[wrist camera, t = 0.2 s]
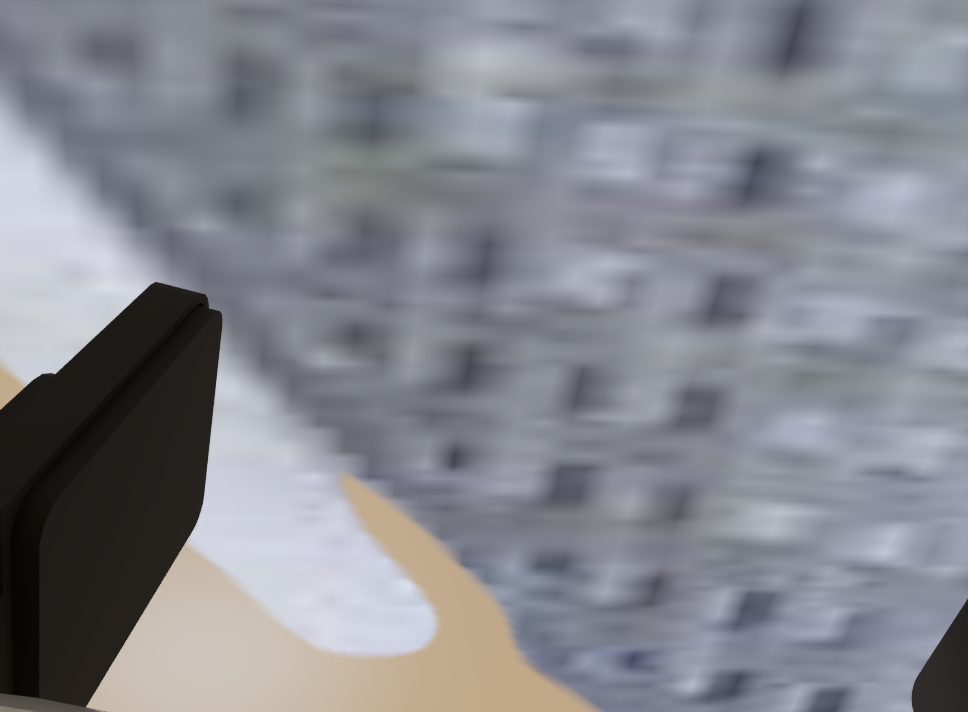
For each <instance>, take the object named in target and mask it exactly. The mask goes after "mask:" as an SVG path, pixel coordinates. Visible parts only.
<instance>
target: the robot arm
mask: <svg viewBox="0 0 968 712" xmlns="http://www.w3.org/2000/svg"><path fill="white" fill-rule="evenodd" d="M221 332H222V314H221V312H220V311H217V310H213V309H209V303H208V298H207V296H206V295H205V294H201V293H197V292H194V291H190V290H186V289H182V288H178V287H174V286H170V285H166V284H162V283H158V282H155V283H153V284H151V285H150V286H149V287H148V288H147V289H146V290H145V291H144V292H142V293H141V294H140V295H139V296H138V297H137V298H136V299H135V300H134V301H133V302H132V303H131V304H130V305H129V306H128V307H126V308H125V309H124V310H123V311H122V312H121V313H120V314H119V315H118V316H117V317H116V318H115V319H114V320H113V321H112V322H111V323H109V324H108V325H107V326H106V327H105V328H104V329H103V330H102V331H101V332H100V333H99V334H98V335H97V336H96V337H95V338H93V339H92V340H91V341H90V342H89V343H88V344H87V345H86V346H85V347H84V348H83V349H82V350H81V351H80V352H79V353H78V354H76V355H75V356H74V357H73V358H72V359H71V360H70V361H69V362H68V363H67V364H66V365H65V366H64V367H63V368H62V369H60V370H59V371H58V372H57V373H56V374H52V373H48V374H42V375H40V376H39V377H37V378H36V379H34V380H33V381H32V382H30V383H29V384H28V385H27V386H26V387H25V388H24V389H23V390H22V391H21V392H20V393H19V394H17V395H16V396H15V397H14V398H13V399H12V400H11V401H10V402H9V403H7V404H6V405H5V406H4V407H3V408H2V409H1V410H0V712H106V711H101V710H96V709H90V708H86V706H87V704H88V703H89V701H90V699H91V697H92V696H93V694H94V693H95V691H96V689H97V688H98V686H99V685H100V683H101V681H102V680H103V678H104V676H105V675H106V673H107V671H108V670H109V668H110V666H111V665H112V663H113V661H114V660H115V658H116V656H117V655H118V653H119V651H120V650H121V648H122V647H123V645H124V643H125V642H126V640H127V638H128V637H129V635H130V633H131V632H132V630H133V628H134V627H135V625H136V623H137V622H138V620H139V618H140V617H141V615H142V614H143V612H144V610H145V608H146V607H147V605H148V604H149V602H150V600H151V599H152V597H153V595H154V594H155V592H156V590H157V589H158V587H159V585H160V584H161V582H162V580H163V579H164V577H165V576H166V573H167V572H168V571H169V569H170V567H171V566H172V564H173V562H174V561H175V559H176V557H177V556H178V554H179V552H180V551H181V549H182V547H183V546H184V544H185V543H186V541H187V539H188V538H189V536H190V534H191V533H192V531H193V529H194V527H195V525H196V523H197V520H198V518H199V515H200V512H201V508H202V504H203V499H204V491H205V482H206V472H207V463H208V454H209V444H210V435H211V426H212V416H213V407H214V397H215V388H216V379H217V369H218V360H219V351H220V341H221ZM912 707H913V711H914V712H968V599H967V601H966V602H965V604H964V606H963V607H962V609H961V610H960V612H959V613H958V615H957V616H956V618H955V619H954V621H953V622H952V624H951V626H950V627H949V629H948V630H947V632H946V633H945V635H944V636H943V638H942V639H941V641H940V643H939V644H938V646H937V647H936V649H935V650H934V652H933V653H932V655H931V656H930V658H929V659H928V661H927V663H926V664H925V666H924V667H923V669H922V670H921V672H920V673H919V675H918V676H917V678H916V680H915V683H914V686H913V690H912Z"/></svg>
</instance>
